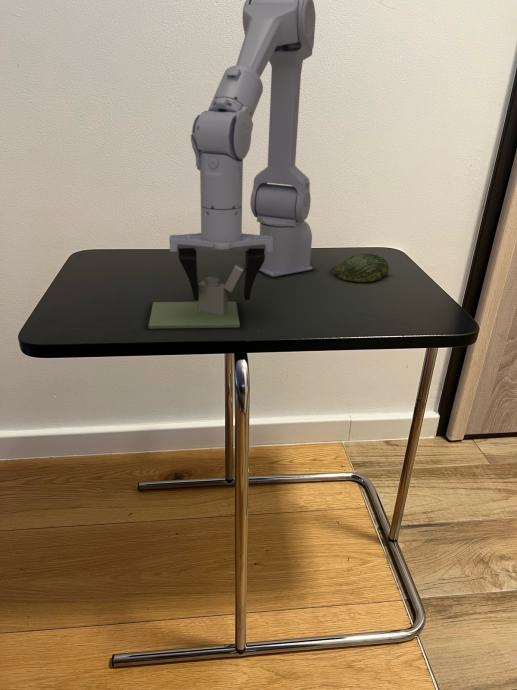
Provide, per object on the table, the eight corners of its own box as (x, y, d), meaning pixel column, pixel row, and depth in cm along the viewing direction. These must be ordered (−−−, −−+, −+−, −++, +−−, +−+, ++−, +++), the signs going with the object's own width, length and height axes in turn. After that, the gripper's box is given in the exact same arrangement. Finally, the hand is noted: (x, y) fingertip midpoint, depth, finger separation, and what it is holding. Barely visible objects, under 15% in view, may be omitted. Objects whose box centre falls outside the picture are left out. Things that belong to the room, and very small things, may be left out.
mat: (236, 304, 86) (236, 301, 86) (239, 327, 78) (239, 324, 78) (153, 305, 85) (153, 302, 85) (148, 328, 77) (148, 325, 77)
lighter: (198, 311, 82) (197, 260, 78) (202, 307, 84) (201, 256, 80) (241, 318, 80) (242, 266, 76) (246, 314, 82) (247, 263, 78)
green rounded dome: (337, 243, 105) (390, 248, 103) (335, 263, 107) (387, 268, 105) (333, 262, 96) (390, 267, 95) (331, 283, 98) (387, 289, 97)
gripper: (166, 211, 70) (170, 308, 76) (277, 212, 72) (272, 307, 78) (169, 200, 77) (173, 290, 83) (270, 201, 78) (267, 290, 84)
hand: (221, 297), depth 81 cm, fingers closed on lighter, 7 cm apart
